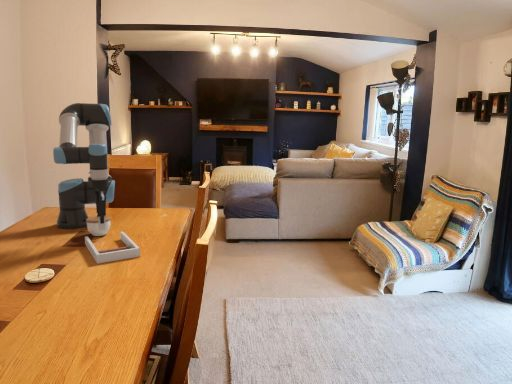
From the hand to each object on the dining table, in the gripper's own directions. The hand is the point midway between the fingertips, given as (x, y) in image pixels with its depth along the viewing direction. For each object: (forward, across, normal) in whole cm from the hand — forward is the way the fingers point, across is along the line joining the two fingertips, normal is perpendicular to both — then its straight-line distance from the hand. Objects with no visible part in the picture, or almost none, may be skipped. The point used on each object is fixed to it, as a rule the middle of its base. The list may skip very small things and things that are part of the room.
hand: (102, 229), depth 178 cm
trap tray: (+5, +24, 0) cm, 25 cm away
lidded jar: (+4, -7, 0) cm, 8 cm away
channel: (+5, +17, 0) cm, 17 cm away
